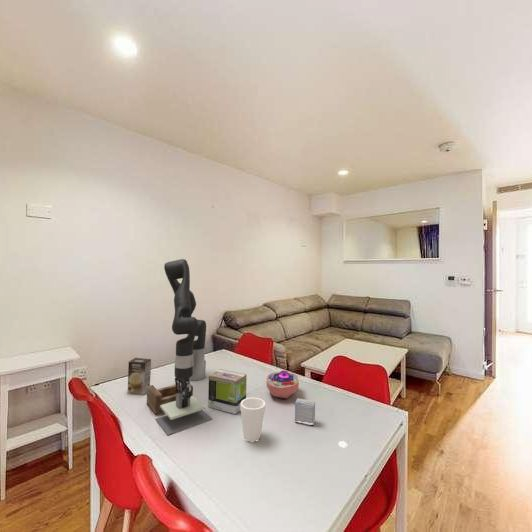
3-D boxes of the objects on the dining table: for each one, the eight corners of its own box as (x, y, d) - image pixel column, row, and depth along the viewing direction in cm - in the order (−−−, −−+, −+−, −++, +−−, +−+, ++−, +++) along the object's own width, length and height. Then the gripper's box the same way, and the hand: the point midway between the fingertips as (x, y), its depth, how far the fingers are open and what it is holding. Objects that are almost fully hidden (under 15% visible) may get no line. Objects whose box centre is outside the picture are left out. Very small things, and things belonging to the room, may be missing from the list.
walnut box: (182, 394, 140) (182, 377, 140) (192, 404, 131) (193, 386, 131) (146, 404, 130) (147, 386, 130) (155, 415, 120) (155, 396, 120)
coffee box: (126, 393, 140) (127, 361, 140) (133, 388, 146) (134, 357, 146) (144, 395, 139) (145, 362, 139) (150, 389, 145) (151, 358, 145)
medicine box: (315, 421, 119) (315, 401, 119) (313, 427, 115) (313, 405, 115) (296, 417, 122) (297, 397, 122) (294, 423, 118) (294, 402, 118)
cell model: (259, 400, 137) (259, 376, 137) (273, 384, 156) (274, 364, 156) (292, 407, 131) (293, 383, 131) (303, 390, 149) (304, 369, 149)
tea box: (246, 405, 132) (247, 373, 132) (235, 415, 123) (236, 381, 123) (219, 398, 138) (220, 368, 138) (207, 407, 129) (208, 375, 129)
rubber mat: (197, 406, 130) (197, 405, 130) (212, 419, 119) (212, 418, 119) (155, 419, 117) (155, 418, 117) (167, 435, 107) (167, 434, 107)
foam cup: (255, 448, 101) (256, 412, 101) (234, 439, 106) (235, 404, 106) (268, 435, 109) (269, 401, 109) (249, 427, 114) (250, 395, 114)
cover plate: (193, 397, 128) (193, 384, 128) (205, 408, 119) (205, 394, 119) (160, 407, 119) (160, 393, 119) (170, 420, 109) (171, 404, 110)
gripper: (199, 367, 116) (198, 409, 116) (185, 358, 127) (184, 396, 127) (182, 371, 111) (181, 415, 111) (169, 361, 122) (168, 401, 122)
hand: (182, 405), depth 119 cm, fingers closed on cover plate, 3 cm apart
